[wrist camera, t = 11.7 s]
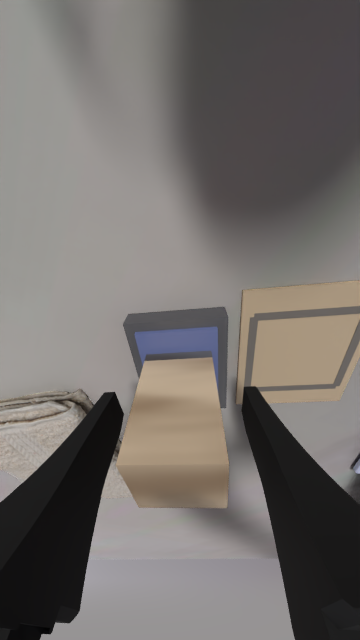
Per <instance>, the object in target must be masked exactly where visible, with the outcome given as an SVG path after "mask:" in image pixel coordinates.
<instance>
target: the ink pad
mask: <svg viewBox="0 0 360 640" xmlns="http://www.w3.org/2000/svg"><path fill="white" fill-rule="evenodd" d="M123 326H124V329H125V333H126V336H127V340H128V343H129V346H130V350H131V353H132V357H133V360H134V363H135V367H136V370H137V373H138V377H139V379H140V375H141V372H142V368H143V364H144V361H145V357H146V354H162V353H179V352H196V351H211V352H212V358H213V364H214V371H215V377H216V383H217V390H218V396H219V402H220V408H226V388H227V342H228V315H227V312H226V309H225V307H217V308H204V309H190V310H177V311H164V312H151V313H138V314H128V316H127V318H126V320H125V321H124V323H123Z"/></svg>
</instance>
